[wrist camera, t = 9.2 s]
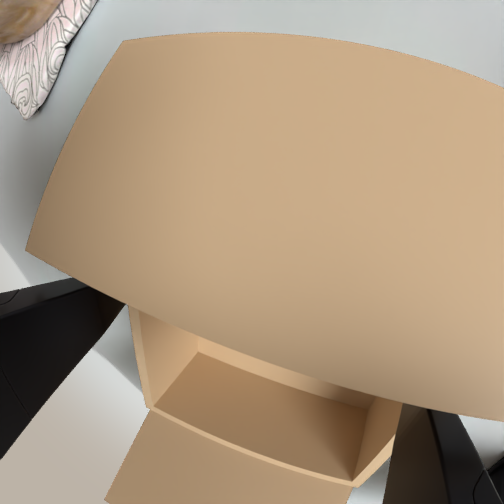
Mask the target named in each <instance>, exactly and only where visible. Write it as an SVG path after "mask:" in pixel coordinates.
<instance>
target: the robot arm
mask: <svg viewBox="0 0 504 504" xmlns="http://www.w3.org/2000/svg"><path fill="white" fill-rule="evenodd" d="M124 306H125V303H123V302H121V301H119V300H117V299H115V298H113V297H111V296H109V295H107V294H104V293H102V292H100V291H98V290H97V289H95V288H93V287H91V286H89V285H87V284H85V283H83V282H81V281H79V280H77V279H75V278H68V279H64V280H59V281H54V282H50V283H45V284H41V285H36V286H32V287H27V288H22V289H20V290H19V289H18V290H13V291H9V292H4V293H0V459H2V458H3V456H4V455H5V454H6V452H7V451H8V450H9V448H10V447H11V446H12V445H13V443H14V442H15V441H16V439H17V438H18V437H19V435H20V434H21V433H22V432H23V430H24V429H25V428H26V426H27V425H28V424H29V423H30V421H31V420H32V418H33V417H34V416H35V415H36V414H37V412H38V411H39V410H40V409H41V407H42V406H43V405H44V404H45V402H46V401H47V400H48V399H49V398H50V396H51V395H52V394H53V393H54V392H55V390H56V389H57V388H58V387H59V385H60V384H61V383H62V382H63V381H64V379H65V378H66V377H67V376H68V375H69V374H70V372H71V371H72V370H73V369H74V368H75V367H76V365H77V364H78V363H79V362H80V361H81V359H82V358H83V357H84V356H85V355H86V354H87V353H88V351H89V350H90V349H91V348H92V347H93V346H94V345H95V343H96V342H97V341H98V340H99V339H100V338H101V337H102V335H103V334H104V333H105V332H106V330H107V329H108V328H109V326H110V325H111V323H112V322H113V321H114V319H115V318H116V317H117V315H118V314H119V312H120V311H121V310H122V308H123V307H124ZM382 504H504V458H503V459H501V460H500V461H499V462H498V463H497V464H496V465H494V466H493V467H492V468H491V469H490V470H488V471H486V469H484V465H483V462H482V460H481V458H480V456H479V454H478V452H477V450H476V448H475V446H474V444H473V442H472V441H471V439H470V437H469V435H468V433H467V431H466V429H465V427H464V425H463V423H462V422H461V420H460V418H459V416H458V414H453V413H448V412H443V411H438V410H433V409H429V408H424V407H420V406H415V405H411V404H407V403H403V404H402V409H401V413H400V418H399V422H398V426H397V430H396V434H395V438H394V443H393V448H392V454H391V461H390V467H389V473H388V478H387V484H386V489H385V494H384V499H383V503H382Z"/></svg>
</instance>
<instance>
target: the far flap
mask: <svg viewBox="0 0 504 504" xmlns="http://www.w3.org/2000/svg"><path fill="white" fill-rule="evenodd" d="M352 489H353V487H352V486H348V485H343V484H339V483H335V482H331V481H327V480H324V479H320V478H316V477H313V476H309V475H306V474H303V473H299V472H296V471H293V470H290V469H287V468H284V467H281V466H278V465H275V464H272V463H269V462H266V461H263V460H261V459H258V458H255V457H252V456H250V455H247V454H245V453H242V452H240V451H237V450H235V449H232V448H230V447H227V446H225V445H223V444H220V443H218V442H216V441H213V440H211V439H209V438H207V437H204V436H202V435H200V434H198V433H196V432H194V431H191V430H189V429H187V428H185V427H183V426H181V425H179V424H177V423H175V422H173V421H171V420H169V419H167V418H165V417H164V416H162V415H160V414H158V413H156V412H154V411H152V410H150V411H149V413H148V415H147V417H146V419H145V420H144V422H143V424H142V426H141V428H140V430H139V432H138V434H137V436H136V438H135V440H134V442H133V444H132V446H131V448H130V450H129V452H128V454H127V456H126V458H125V459H124V461H123V463H122V466H121V468H120V469H119V471H118V473H117V475H116V477H115V479H114V481H113V483H112V485H111V488H110V489H109V491H108V493H107V495H106V497H105V499H104V500H105V501H107V502H108V503H109V504H346V503H347V500H348V498H349V496H350V493H351V491H352Z"/></svg>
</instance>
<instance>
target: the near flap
mask: <svg viewBox="0 0 504 504" xmlns="http://www.w3.org/2000/svg"><path fill="white" fill-rule="evenodd" d="M25 251H27V252H28V253H30V254H32V255H34V256H35V257H37V258H39V259H41V260H42V261H44V262H46V263H48V264H49V265H51V266H53V267H55V268H57V269H58V270H60V271H62V272H64V273H66V274H68V275H70V276H71V277H73V278H75V279H77V280H79V281H81V282H83V283H85V284H87V285H89V286H91V287H93V288H95V289H97V290H98V291H100V292H102V293H104V294H107V295H109V296H111V297H113V298H115V299H117V300H119V301H121V302H123V303H125V304H127V305H129V306H131V307H133V308H136V309H138V310H140V311H142V312H144V313H146V314H149V315H151V316H153V317H155V318H158V319H160V320H162V321H164V322H167V323H169V324H171V325H173V326H176V327H178V328H180V329H183V330H185V331H188V332H190V333H192V334H195V335H197V336H200V337H202V338H205V339H207V340H209V341H212V342H214V343H217V344H220V345H222V346H225V347H227V348H230V349H232V350H235V351H238V352H240V353H243V354H246V355H248V356H251V357H254V358H257V359H259V360H262V361H265V362H268V363H271V364H274V365H276V366H279V367H282V368H285V369H288V370H291V371H294V372H297V373H300V374H303V375H306V376H310V377H313V378H316V379H319V380H322V381H326V382H329V383H332V384H335V385H339V386H342V387H346V388H349V389H353V390H356V391H360V392H363V393H367V394H371V395H375V396H378V397H382V398H386V399H390V400H394V401H398V402H402V403H407V404H411V405H415V406H420V407H424V408H429V409H433V410H438V411H443V412H448V413H453V414H459V415H464V416H470V417H476V418H482V419H488V420H494V421H501V422H504V88H503V87H500V86H498V85H496V84H493V83H491V82H489V81H486V80H484V79H481V78H479V77H476V76H474V75H471V74H468V73H465V72H463V71H460V70H457V69H454V68H451V67H448V66H445V65H442V64H439V63H436V62H433V61H429V60H426V59H423V58H419V57H415V56H412V55H408V54H404V53H400V52H396V51H392V50H388V49H383V48H379V47H374V46H369V45H364V44H358V43H353V42H347V41H341V40H334V39H327V38H319V37H311V36H301V35H290V34H276V33H255V32H211V33H189V34H176V35H165V36H155V37H147V38H139V39H132V40H125V41H123V42H122V43H121V45H120V46H119V48H118V49H117V51H116V52H115V54H114V55H113V57H112V58H111V60H110V61H109V63H108V65H107V66H106V68H105V69H104V71H103V73H102V74H101V76H100V78H99V79H98V81H97V83H96V84H95V86H94V88H93V90H92V91H91V93H90V95H89V97H88V98H87V100H86V102H85V104H84V106H83V108H82V110H81V111H80V113H79V115H78V117H77V119H76V121H75V123H74V125H73V127H72V129H71V131H70V133H69V135H68V137H67V139H66V142H65V144H64V146H63V148H62V150H61V152H60V155H59V157H58V159H57V162H56V164H55V166H54V169H53V171H52V173H51V176H50V178H49V181H48V183H47V186H46V189H45V191H44V194H43V197H42V199H41V202H40V205H39V208H38V211H37V213H36V216H35V219H34V222H33V226H32V229H31V232H30V235H29V238H28V242H27V245H26V249H25Z"/></svg>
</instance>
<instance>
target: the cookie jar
mask: <svg viewBox="0 0 504 504" xmlns="http://www.w3.org/2000/svg"><path fill="white" fill-rule="evenodd" d="M96 2H97V0H0V82H1V83H2V84H3V87H4V89H5V90H6V93H8V94H10V96H11V103H12V104H14V105H15V106H16V108H17V109H18V110H19V111H20V114H22V116H23V118H24V120H28V119H29V118H30V117H31V116H33V115H34V114H35V113H37V112H38V111H37V109H38V108H39V107H40V106H41V105H42V104H43V102H44V101H45V99H46V97H47V95H48V94H49V92H50V90H51V88H52V86H53V84H54V82H55V80H56V78H57V75H58V72H59V69H60V66H61V63H62V61H63V58H64V55H65V53H66V50H67V48H68V45H69V43H70V42H71V40H72V39H73V37H74V36H75V34H76V33H77V31H78V30H79V29H80V27H81V26H82V24H83V23H84V21H85V20H86V18H87V16H88V15H89V13H90V11H91V10H92V8H93V6H94V5H95V3H96Z"/></svg>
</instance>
